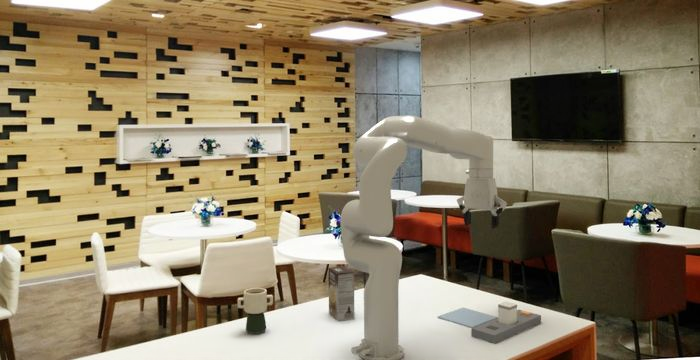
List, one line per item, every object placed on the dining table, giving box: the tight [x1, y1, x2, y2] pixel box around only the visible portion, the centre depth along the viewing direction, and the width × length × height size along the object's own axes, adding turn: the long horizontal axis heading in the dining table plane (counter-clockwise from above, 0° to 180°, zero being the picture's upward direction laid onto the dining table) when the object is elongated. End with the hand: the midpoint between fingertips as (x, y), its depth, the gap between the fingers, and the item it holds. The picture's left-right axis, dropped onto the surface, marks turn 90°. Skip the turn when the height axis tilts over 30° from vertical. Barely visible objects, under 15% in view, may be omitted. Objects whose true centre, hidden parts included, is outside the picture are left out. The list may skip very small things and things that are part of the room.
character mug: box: [237, 287, 274, 334], centre depth 172 cm, size 11×7×13 cm, turn 108°
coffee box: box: [328, 265, 355, 322], centre depth 185 cm, size 9×6×16 cm
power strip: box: [470, 309, 542, 345], centre depth 172 cm, size 26×8×3 cm, turn 132°
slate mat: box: [437, 307, 498, 329], centre depth 183 cm, size 14×14×1 cm
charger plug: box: [497, 301, 518, 325], centre depth 171 cm, size 4×4×8 cm
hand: (481, 226), depth 180 cm, fingers open, 9 cm apart
